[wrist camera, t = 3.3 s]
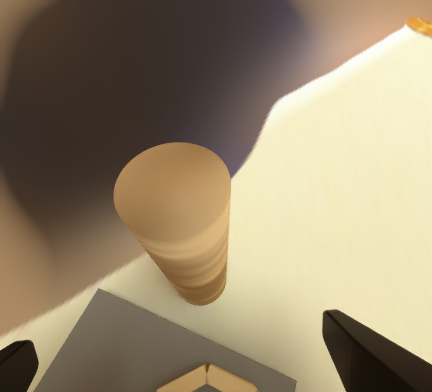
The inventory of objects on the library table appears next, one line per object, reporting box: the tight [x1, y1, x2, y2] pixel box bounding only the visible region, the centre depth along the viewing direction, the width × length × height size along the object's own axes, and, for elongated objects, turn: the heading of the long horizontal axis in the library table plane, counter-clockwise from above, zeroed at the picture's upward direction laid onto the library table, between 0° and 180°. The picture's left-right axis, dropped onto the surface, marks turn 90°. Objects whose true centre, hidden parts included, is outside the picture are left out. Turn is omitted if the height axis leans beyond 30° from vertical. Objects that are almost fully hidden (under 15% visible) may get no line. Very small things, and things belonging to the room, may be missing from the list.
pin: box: [114, 143, 231, 305], centre depth 14 cm, size 4×4×13 cm
